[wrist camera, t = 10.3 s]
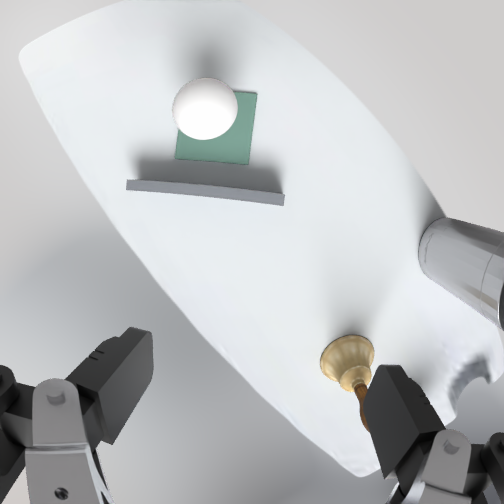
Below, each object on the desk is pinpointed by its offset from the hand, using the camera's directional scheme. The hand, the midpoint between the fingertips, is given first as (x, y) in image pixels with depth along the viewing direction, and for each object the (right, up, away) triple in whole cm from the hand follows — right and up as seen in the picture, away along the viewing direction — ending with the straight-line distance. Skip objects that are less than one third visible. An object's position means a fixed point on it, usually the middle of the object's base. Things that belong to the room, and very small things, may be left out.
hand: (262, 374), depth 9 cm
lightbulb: (-4, +19, +23) cm, 30 cm away
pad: (-5, +19, +23) cm, 30 cm away
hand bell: (+14, -11, +29) cm, 34 cm away
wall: (-6, +12, +25) cm, 28 cm away
